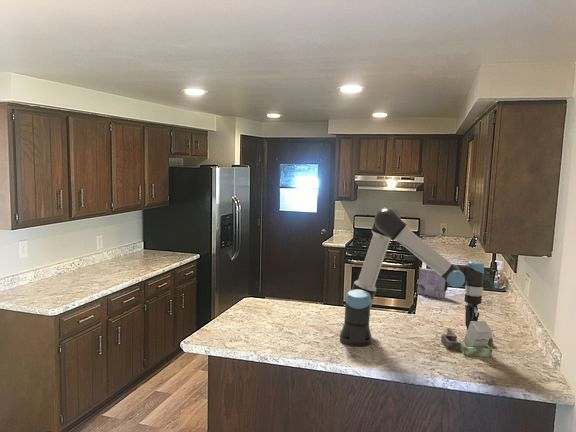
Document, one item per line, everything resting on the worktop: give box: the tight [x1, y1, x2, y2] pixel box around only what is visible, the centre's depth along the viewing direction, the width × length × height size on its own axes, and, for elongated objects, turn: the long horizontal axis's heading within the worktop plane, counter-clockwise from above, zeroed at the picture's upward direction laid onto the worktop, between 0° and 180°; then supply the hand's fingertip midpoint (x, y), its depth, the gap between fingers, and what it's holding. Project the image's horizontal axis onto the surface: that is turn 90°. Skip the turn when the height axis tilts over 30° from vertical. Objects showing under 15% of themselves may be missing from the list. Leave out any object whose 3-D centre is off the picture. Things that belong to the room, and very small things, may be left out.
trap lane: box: [440, 328, 494, 358], centre depth 229 cm, size 24×27×4 cm
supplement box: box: [463, 320, 493, 348], centre depth 221 cm, size 7×7×13 cm
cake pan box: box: [416, 267, 449, 299], centre depth 323 cm, size 19×5×18 cm, turn 58°
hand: (469, 342), depth 228 cm, fingers closed
